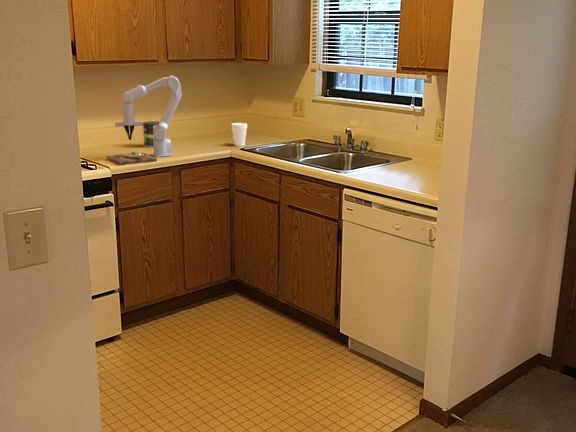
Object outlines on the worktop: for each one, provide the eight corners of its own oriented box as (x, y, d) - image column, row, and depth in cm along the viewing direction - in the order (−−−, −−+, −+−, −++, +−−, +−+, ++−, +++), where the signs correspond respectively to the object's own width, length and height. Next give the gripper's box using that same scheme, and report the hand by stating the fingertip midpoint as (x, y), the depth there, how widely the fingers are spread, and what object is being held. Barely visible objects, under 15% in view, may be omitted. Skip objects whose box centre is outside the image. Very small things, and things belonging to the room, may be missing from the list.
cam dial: (122, 155, 331) (122, 150, 330) (140, 153, 336) (140, 148, 335) (130, 159, 319) (130, 154, 319) (149, 158, 324) (148, 153, 324)
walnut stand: (142, 155, 341) (142, 147, 340) (156, 161, 326) (156, 152, 324) (107, 158, 331) (106, 150, 329) (120, 165, 315) (119, 156, 313)
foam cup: (229, 146, 372) (229, 124, 368) (234, 143, 381) (234, 122, 377) (244, 147, 370) (244, 125, 366) (249, 144, 378) (249, 123, 375)
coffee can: (145, 148, 363) (144, 124, 359) (142, 145, 372) (141, 121, 368) (162, 147, 366) (161, 123, 362) (160, 144, 375) (158, 121, 371)
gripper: (114, 115, 325) (116, 141, 329) (142, 115, 328) (144, 140, 332) (114, 113, 331) (116, 139, 335) (142, 113, 335) (143, 138, 339)
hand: (130, 139), depth 334 cm, fingers closed
